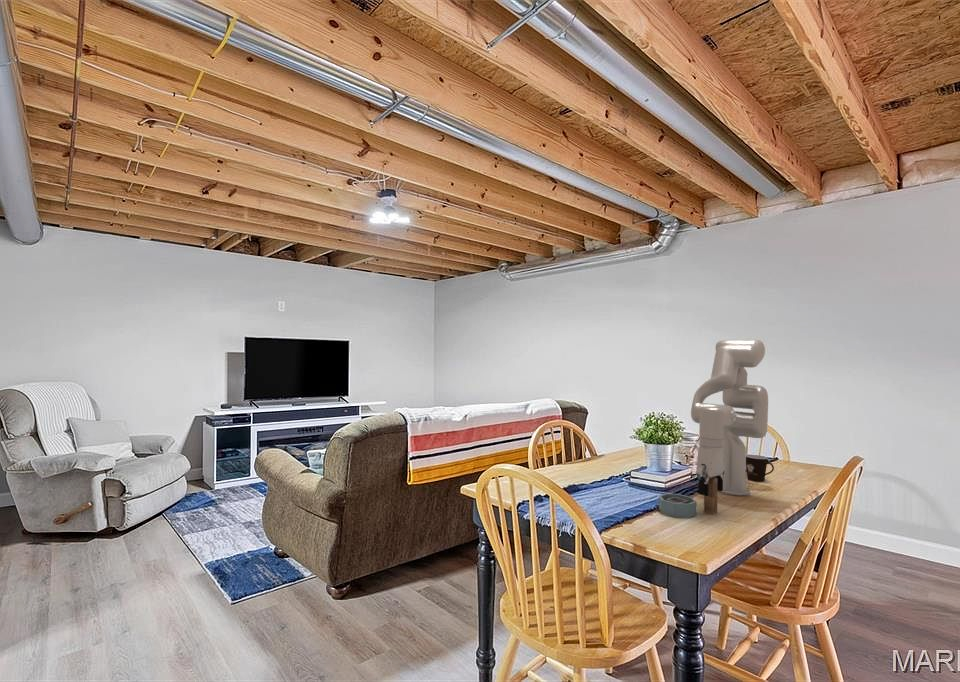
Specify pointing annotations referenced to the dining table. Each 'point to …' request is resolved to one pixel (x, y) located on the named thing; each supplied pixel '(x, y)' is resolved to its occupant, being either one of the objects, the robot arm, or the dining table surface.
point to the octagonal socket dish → (677, 505)
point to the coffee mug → (757, 467)
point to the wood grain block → (711, 497)
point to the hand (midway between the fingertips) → (710, 492)
